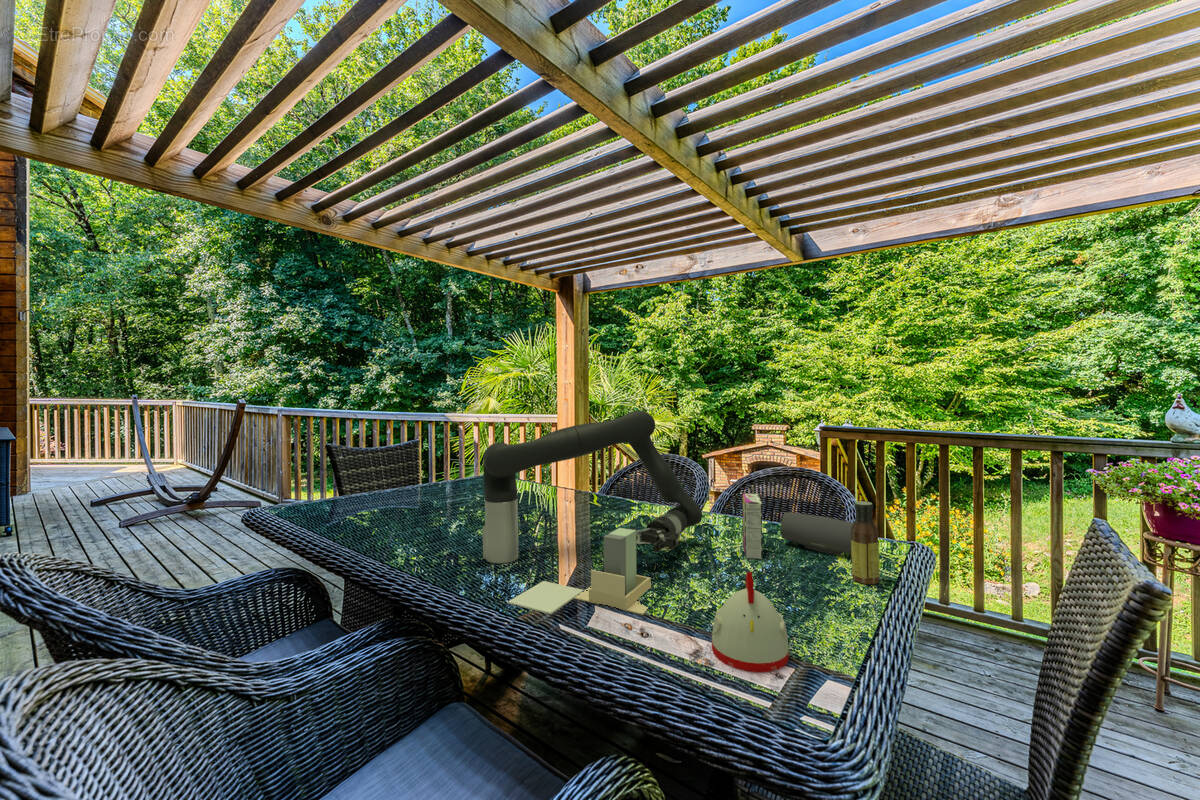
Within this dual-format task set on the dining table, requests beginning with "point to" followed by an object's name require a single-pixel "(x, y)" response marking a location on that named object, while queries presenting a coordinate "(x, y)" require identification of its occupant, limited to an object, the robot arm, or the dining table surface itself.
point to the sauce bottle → (865, 545)
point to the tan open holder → (615, 591)
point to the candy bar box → (752, 526)
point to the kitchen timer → (750, 632)
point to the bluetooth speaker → (817, 532)
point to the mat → (546, 597)
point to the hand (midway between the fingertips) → (639, 545)
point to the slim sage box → (621, 556)
